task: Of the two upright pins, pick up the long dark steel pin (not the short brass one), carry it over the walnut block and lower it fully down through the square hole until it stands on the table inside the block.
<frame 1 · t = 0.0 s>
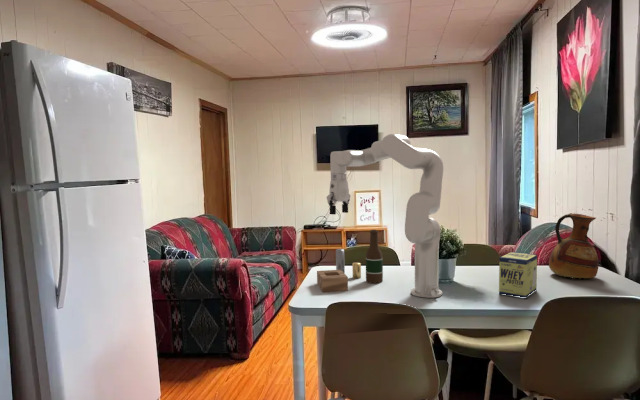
hand: (339, 213, 204), 31 cm above the table, tool pointing down, fingers open, 9 cm apart
ceramic pitcher: (572, 277, 201), on the table
beer bottle: (374, 282, 198), on the table
protein box: (517, 293, 176), on the table
walnut hole block: (332, 287, 189), on the table
short brass pin: (356, 277, 206), on the table
long steel pin: (340, 278, 204), on the table
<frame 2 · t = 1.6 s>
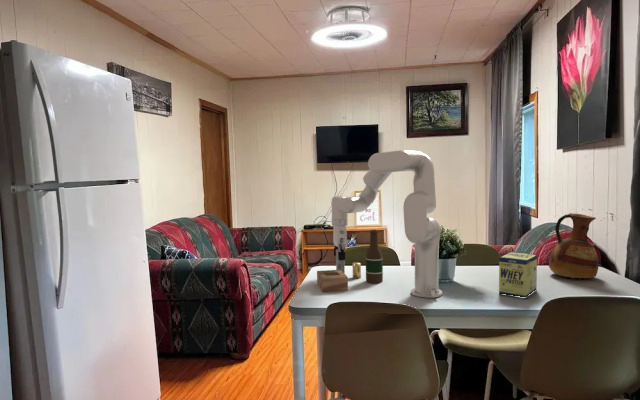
hand: (339, 257, 204), 10 cm above the table, tool pointing down, fingers open, 9 cm apart
nothing on the table moved.
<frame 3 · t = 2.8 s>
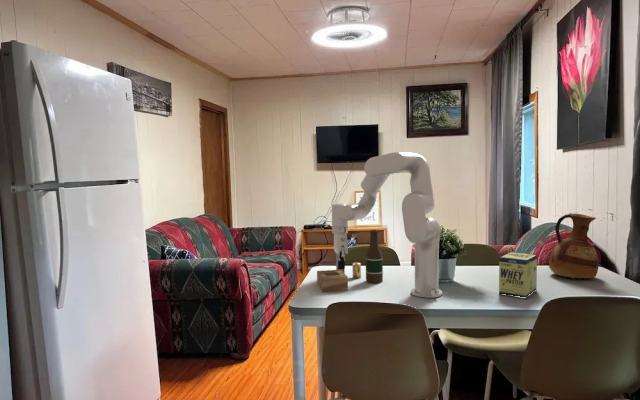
hand: (340, 267, 204), 5 cm above the table, tool pointing down, fingers closed on long steel pin, 4 cm apart
long steel pin: (340, 278, 204), on the table, touching gripper
everything else where it was.
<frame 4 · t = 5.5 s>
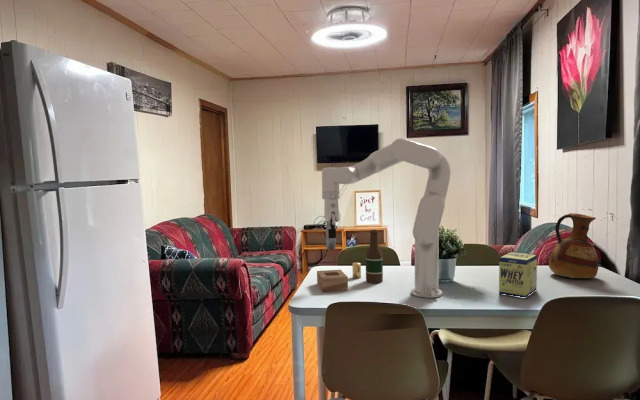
hand: (331, 236, 188), 22 cm above the table, tool pointing down, fingers closed on long steel pin, 4 cm apart
long steel pin: (331, 248, 188), point 17 cm above the table, touching gripper
everything else where it was.
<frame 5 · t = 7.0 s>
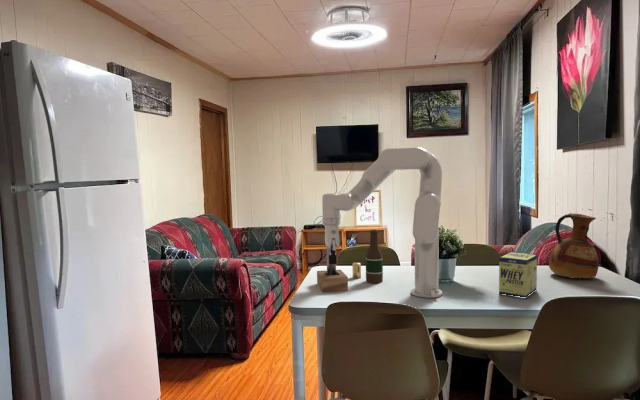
hand: (331, 262, 189), 11 cm above the table, tool pointing down, fingers closed on long steel pin, 4 cm apart
long steel pin: (331, 274, 189), point 6 cm above the table, touching gripper
everything else where it was.
when the fingers open (7 cm above the table, at t = 8.1 s): long steel pin drops 1 cm, resting in walnut hole block.
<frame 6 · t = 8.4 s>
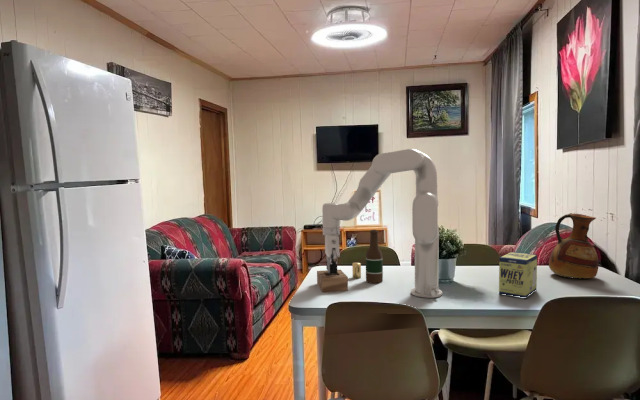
hand: (331, 270, 189), 7 cm above the table, tool pointing down, fingers open, 6 cm apart
long steel pin: (332, 287, 189), resting in walnut hole block
everything else where it was.
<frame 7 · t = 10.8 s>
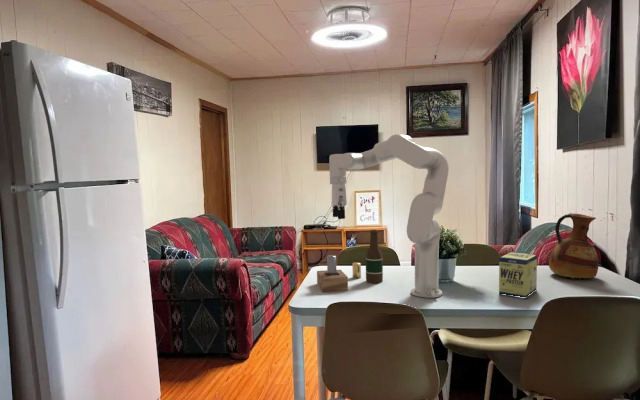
hand: (338, 217, 199), 30 cm above the table, tool pointing down, fingers open, 9 cm apart
nothing on the table moved.
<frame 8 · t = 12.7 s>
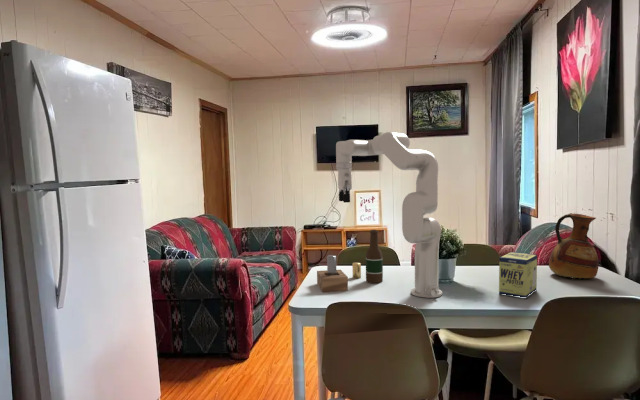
hand: (344, 201, 210), 36 cm above the table, tool pointing down, fingers open, 9 cm apart
nothing on the table moved.
at the end: long steel pin 0.0 cm off-centre on the walnut hole block, point 0.0 cm above the walnut hole block's base; long steel pin tilted 0°; short brass pin moved 0.0 cm from its start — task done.
